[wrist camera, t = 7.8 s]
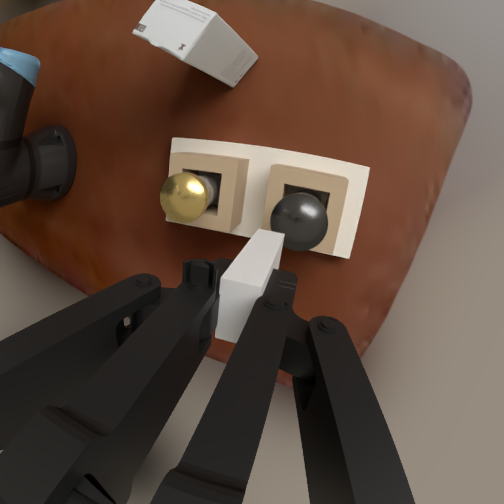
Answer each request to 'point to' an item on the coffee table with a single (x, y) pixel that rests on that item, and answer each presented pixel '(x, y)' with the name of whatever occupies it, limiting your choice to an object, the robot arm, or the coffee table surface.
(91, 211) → the coffee table surface
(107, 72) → the coffee table surface
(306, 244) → the plug black
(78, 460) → the robot arm
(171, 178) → the plug brass
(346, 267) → the coffee table surface
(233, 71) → the skincare box
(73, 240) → the coffee table surface
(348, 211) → the socket board
